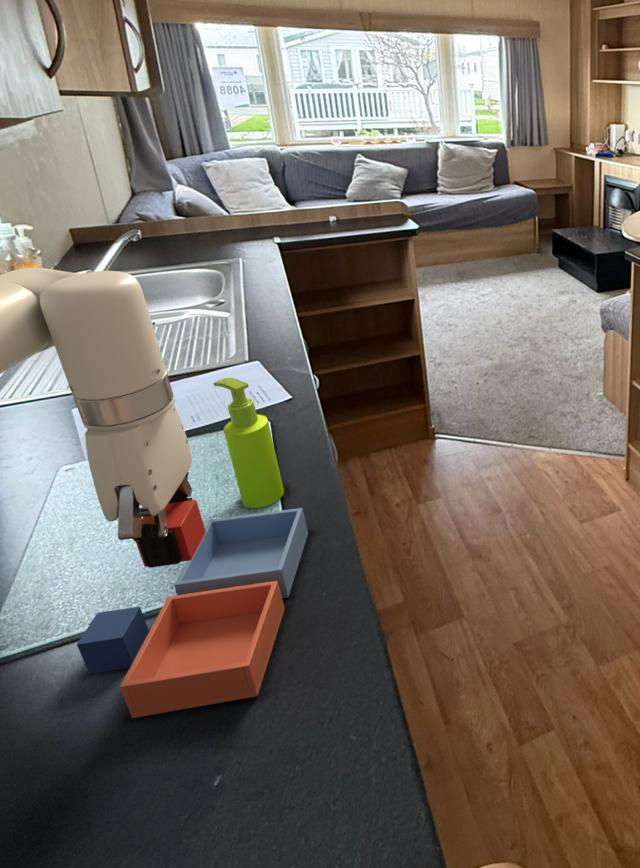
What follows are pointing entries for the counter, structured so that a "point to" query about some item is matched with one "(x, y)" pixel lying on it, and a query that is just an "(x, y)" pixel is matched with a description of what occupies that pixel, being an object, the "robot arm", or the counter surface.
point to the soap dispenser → (251, 449)
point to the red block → (182, 527)
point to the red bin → (205, 649)
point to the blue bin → (247, 552)
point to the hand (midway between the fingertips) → (174, 545)
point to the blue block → (113, 639)
